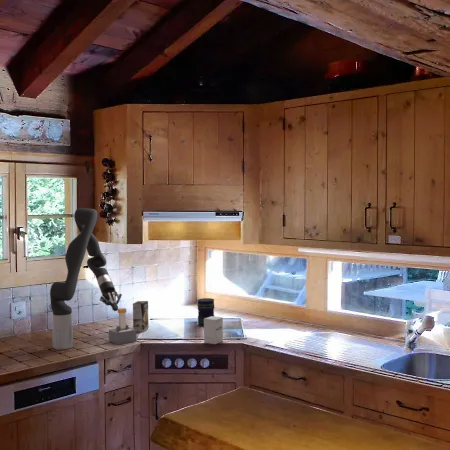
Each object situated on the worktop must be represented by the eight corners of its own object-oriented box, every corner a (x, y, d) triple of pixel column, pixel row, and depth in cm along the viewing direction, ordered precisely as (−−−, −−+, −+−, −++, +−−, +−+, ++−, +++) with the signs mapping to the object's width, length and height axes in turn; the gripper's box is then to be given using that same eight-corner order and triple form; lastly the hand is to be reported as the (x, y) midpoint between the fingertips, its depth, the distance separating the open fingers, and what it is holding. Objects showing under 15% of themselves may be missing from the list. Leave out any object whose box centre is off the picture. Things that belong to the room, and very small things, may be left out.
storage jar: (204, 327, 321) (204, 301, 320) (194, 324, 328) (194, 299, 328) (218, 324, 327) (217, 299, 326) (208, 322, 335) (207, 297, 334)
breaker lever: (118, 329, 293) (117, 308, 292) (124, 328, 295) (123, 307, 295) (120, 330, 291) (119, 309, 290) (126, 329, 293) (126, 308, 292)
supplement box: (215, 344, 283) (215, 319, 283) (203, 342, 287) (203, 318, 286) (223, 341, 289) (223, 317, 289) (211, 339, 293) (211, 315, 293)
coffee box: (143, 332, 312) (143, 303, 311) (132, 331, 313) (132, 303, 313) (149, 328, 321) (148, 300, 320) (138, 328, 322) (137, 300, 322)
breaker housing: (109, 341, 294) (108, 325, 294) (128, 337, 300) (127, 322, 300) (117, 344, 286) (116, 329, 285) (136, 341, 292) (136, 325, 292)
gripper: (96, 281, 301) (106, 307, 292) (118, 279, 309) (129, 304, 300) (92, 290, 306) (102, 316, 297) (115, 287, 314) (125, 312, 304)
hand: (116, 310), depth 298 cm, fingers closed
